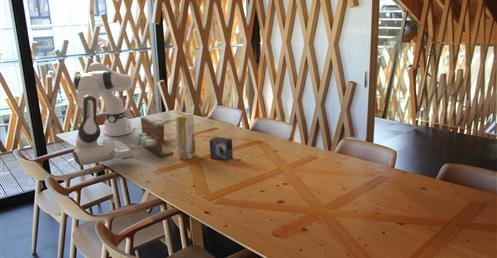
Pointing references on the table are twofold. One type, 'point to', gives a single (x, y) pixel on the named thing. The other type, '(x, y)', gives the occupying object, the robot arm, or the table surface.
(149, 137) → the button middle
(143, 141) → the button
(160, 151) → the brown wooden rack
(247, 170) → the table surface
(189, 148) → the juice carton
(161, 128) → the disposable coffee cup
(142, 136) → the button
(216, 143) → the small box
